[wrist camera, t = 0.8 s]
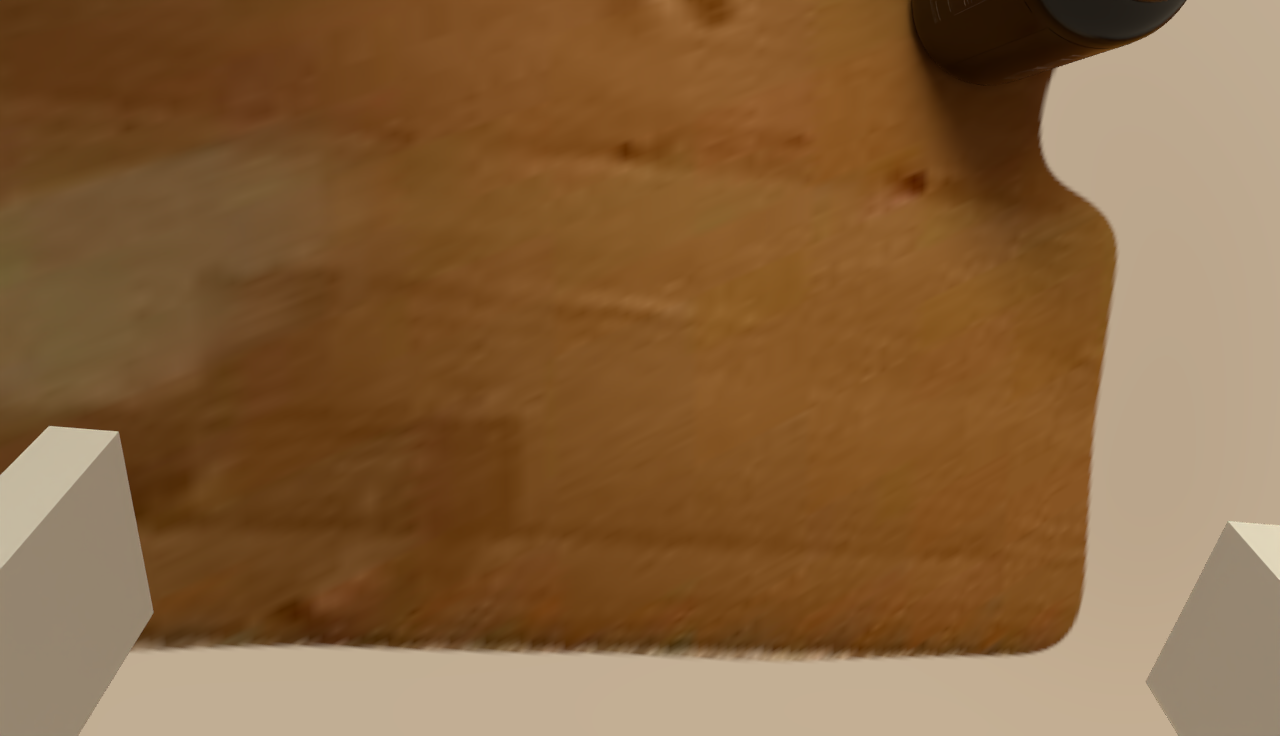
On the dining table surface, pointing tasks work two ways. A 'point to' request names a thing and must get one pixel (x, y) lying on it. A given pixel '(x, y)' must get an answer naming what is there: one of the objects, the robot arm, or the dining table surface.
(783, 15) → the dining table surface
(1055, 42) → the supplement bottle
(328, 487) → the dining table surface
